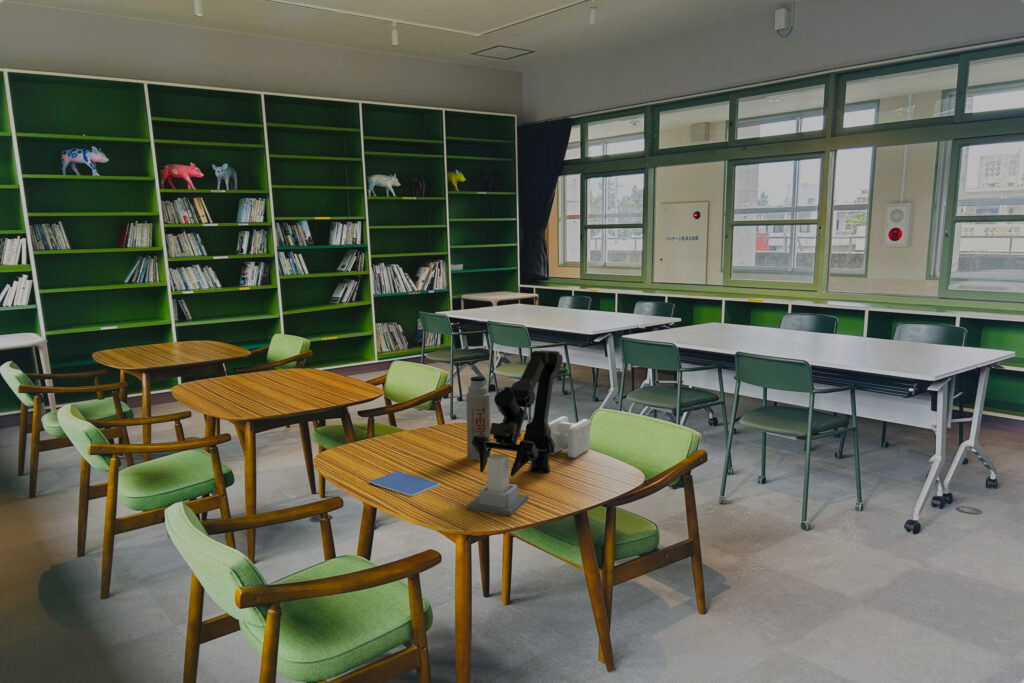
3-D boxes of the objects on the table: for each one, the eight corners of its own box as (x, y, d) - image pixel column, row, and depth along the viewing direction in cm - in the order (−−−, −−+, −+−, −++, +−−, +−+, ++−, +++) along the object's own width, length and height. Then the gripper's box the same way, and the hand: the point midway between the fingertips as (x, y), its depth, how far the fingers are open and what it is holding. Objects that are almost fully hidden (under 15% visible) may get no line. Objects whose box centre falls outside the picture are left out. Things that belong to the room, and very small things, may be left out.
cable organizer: (565, 445, 244) (565, 414, 243) (592, 449, 239) (592, 417, 237) (545, 456, 232) (545, 423, 230) (573, 461, 226) (573, 427, 225)
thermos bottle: (488, 461, 227) (487, 379, 223) (465, 460, 228) (463, 379, 224) (492, 454, 235) (491, 375, 231) (469, 453, 236) (468, 374, 232)
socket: (487, 493, 198) (487, 477, 197) (528, 499, 192) (528, 483, 192) (467, 509, 186) (467, 492, 185) (510, 516, 181) (510, 499, 180)
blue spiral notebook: (441, 486, 205) (441, 482, 205) (411, 499, 195) (411, 494, 195) (397, 474, 216) (397, 470, 216) (367, 485, 207) (367, 481, 206)
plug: (494, 496, 192) (494, 453, 190) (509, 498, 190) (508, 455, 188) (487, 501, 188) (487, 458, 186) (502, 504, 186) (502, 460, 184)
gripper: (473, 407, 193) (456, 456, 184) (534, 413, 185) (519, 464, 177) (485, 427, 201) (469, 474, 193) (544, 434, 194) (530, 483, 185)
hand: (496, 473), depth 187 cm, fingers open, 9 cm apart
